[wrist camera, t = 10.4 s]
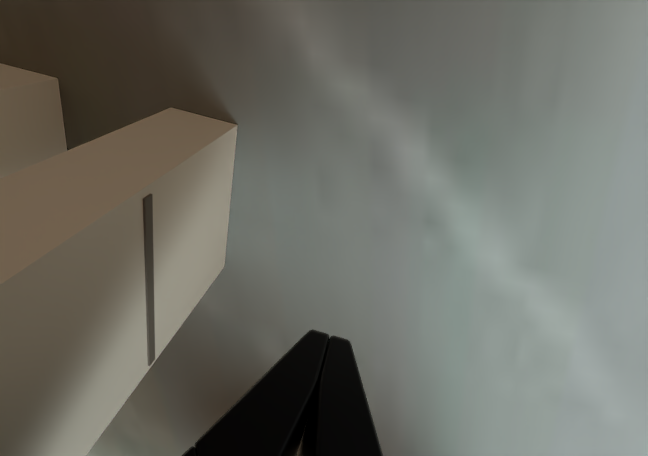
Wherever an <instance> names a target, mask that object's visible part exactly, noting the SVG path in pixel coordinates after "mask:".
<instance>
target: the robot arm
mask: <svg viewBox="0 0 648 456" xmlns="http://www.w3.org/2000/svg"><path fill="white" fill-rule="evenodd" d="M306 422H307V423H306ZM305 426H306V427H305ZM304 429H305V430H304ZM303 433H304V434H303ZM302 436H303V439H302ZM301 439H302V443H301ZM300 443H301V448H300V454H299V456H383V454H382V451H381V447H380V444H379V440H378V437H377V433H376V430H375V426H374V423H373V419H372V416H371V412H370V409H369V405H368V402H367V398H366V395H365V391H364V388H363V384H362V381H361V377H360V374H359V370H358V367H357V363H356V360H355V356H354V353H353V349H352V346H351V343H350V341H349V340H347V339H343V338H340V337H336V336H331V337H330V339H329V335H328V334H326V333H323V332H319V331H316V330H310V331H309V332H307V333H306V334H305V335H304V336H303V337H302V338H301V339H300V340H299V341H298V342H297V343H296V344H295V345H294V346H293V347H292V348H291V349H290V350H289V351H288V352H287V353H286V354H285V355H284V356H283V357H282V358H281V359H280V360H279V361H278V362H277V363H276V364H275V365H274V366H273V367H272V368H271V369H270V370H269V371H268V372H267V373H266V374H265V375H264V376H263V377H262V378H261V379H260V380H259V381H258V382H257V383H256V384H255V385H254V386H253V387H252V388H251V389H250V390H248V391H247V392H246V393H245V394H244V395H243V396H242V397H241V398H240V399H239V400H238V401H237V402H236V403H235V404H234V405H233V406H232V407H231V408H230V409H229V410H228V411H227V412H226V413H225V414H224V415H223V416H222V417H221V418H220V419H219V420H218V421H217V422H216V423H215V424H214V425H213V426H212V427H211V428H210V429H209V430H208V431H207V432H206V433H205V434H204V435H203V436H202V437H201V438H200V439H199V440H198V441H197V442H196V443H195V447H193V446H192V447H190V448H189V449H188V450H187V451H186V452H185V453H184V454H183V455H182V456H296V454H297V451H298V448H299V446H300Z"/></svg>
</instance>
